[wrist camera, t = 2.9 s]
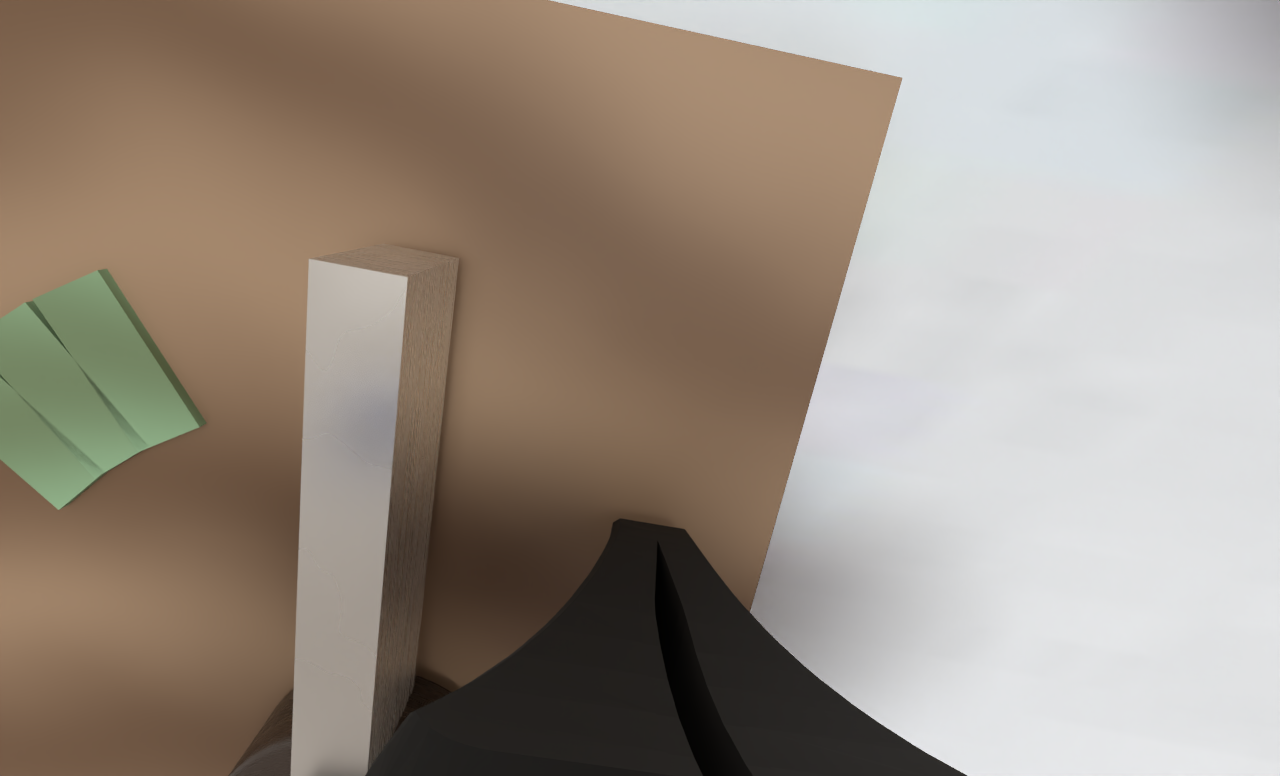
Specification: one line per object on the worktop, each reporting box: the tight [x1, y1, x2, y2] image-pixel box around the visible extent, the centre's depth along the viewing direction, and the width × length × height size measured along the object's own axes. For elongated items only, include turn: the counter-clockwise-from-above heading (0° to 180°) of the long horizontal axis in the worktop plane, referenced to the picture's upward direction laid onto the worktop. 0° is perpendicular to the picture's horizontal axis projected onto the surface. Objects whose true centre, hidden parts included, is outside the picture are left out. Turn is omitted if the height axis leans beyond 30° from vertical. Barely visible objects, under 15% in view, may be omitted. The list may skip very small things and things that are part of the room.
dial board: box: [0, 0, 902, 776], centre depth 13 cm, size 20×16×1 cm
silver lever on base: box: [228, 244, 459, 776], centre depth 10 cm, size 14×5×4 cm, turn 169°
